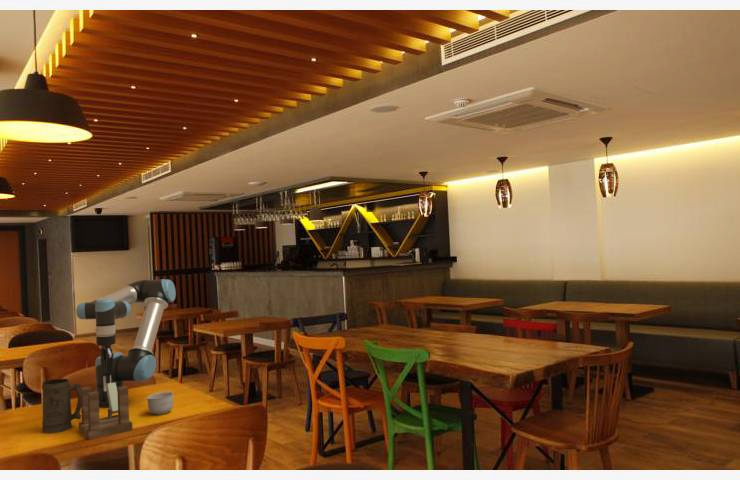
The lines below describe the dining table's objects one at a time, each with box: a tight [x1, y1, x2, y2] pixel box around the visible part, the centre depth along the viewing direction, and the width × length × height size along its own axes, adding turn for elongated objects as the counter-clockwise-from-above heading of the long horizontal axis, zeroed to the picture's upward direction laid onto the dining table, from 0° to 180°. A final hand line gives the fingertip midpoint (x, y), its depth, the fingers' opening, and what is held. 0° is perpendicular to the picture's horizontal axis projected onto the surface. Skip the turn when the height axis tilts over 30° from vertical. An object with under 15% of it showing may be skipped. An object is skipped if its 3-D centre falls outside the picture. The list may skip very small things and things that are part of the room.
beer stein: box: [41, 378, 82, 434], centre depth 236 cm, size 15×11×20 cm
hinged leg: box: [106, 382, 118, 415], centre depth 241 cm, size 3×3×12 cm
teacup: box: [146, 391, 174, 416], centre depth 254 cm, size 14×11×8 cm
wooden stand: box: [78, 385, 133, 441], centre depth 231 cm, size 16×16×17 cm
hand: (107, 390), depth 247 cm, fingers closed
